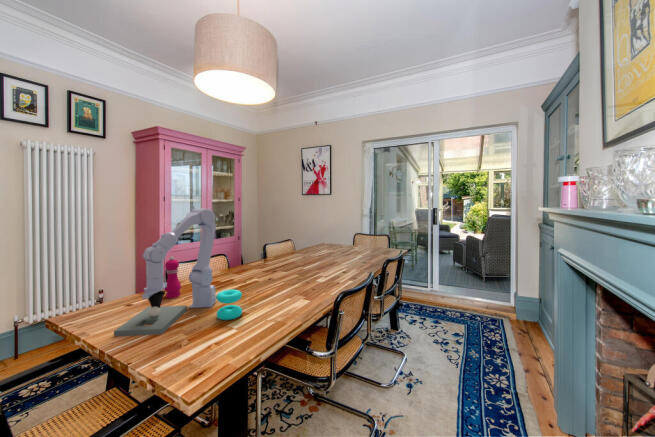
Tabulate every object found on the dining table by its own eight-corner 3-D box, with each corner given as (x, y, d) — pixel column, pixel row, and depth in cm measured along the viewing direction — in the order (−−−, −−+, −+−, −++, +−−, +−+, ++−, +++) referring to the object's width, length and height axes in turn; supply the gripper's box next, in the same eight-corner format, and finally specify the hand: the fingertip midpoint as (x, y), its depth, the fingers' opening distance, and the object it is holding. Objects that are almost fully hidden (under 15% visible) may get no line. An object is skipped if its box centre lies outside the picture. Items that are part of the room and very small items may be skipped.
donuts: (213, 291, 115) (238, 287, 121) (214, 314, 116) (238, 309, 121) (218, 298, 107) (244, 293, 112) (219, 323, 107) (245, 317, 113)
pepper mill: (161, 297, 136) (159, 257, 134) (174, 293, 142) (173, 254, 141) (171, 299, 133) (170, 258, 132) (184, 294, 140) (183, 255, 138)
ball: (163, 308, 112) (159, 304, 109) (160, 318, 109) (155, 314, 106) (153, 309, 111) (148, 305, 108) (149, 318, 109) (145, 315, 106)
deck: (187, 310, 120) (186, 305, 120) (162, 334, 98) (161, 328, 98) (148, 311, 119) (148, 306, 118) (114, 336, 97) (113, 330, 97)
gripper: (154, 272, 116) (155, 304, 117) (133, 282, 102) (134, 318, 103) (171, 272, 117) (172, 303, 118) (153, 282, 102) (154, 318, 103)
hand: (156, 310), depth 110 cm, fingers closed, pressing on ball
